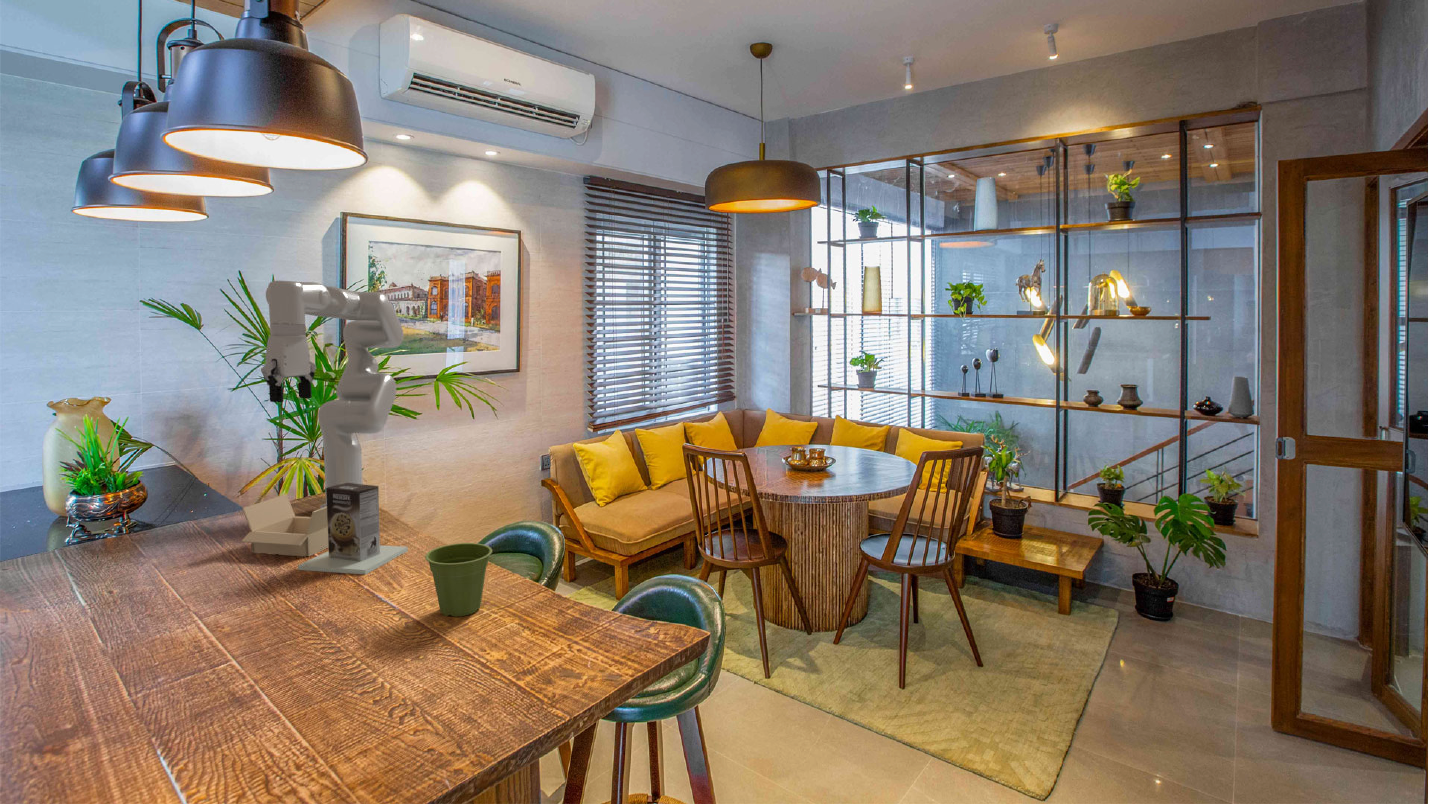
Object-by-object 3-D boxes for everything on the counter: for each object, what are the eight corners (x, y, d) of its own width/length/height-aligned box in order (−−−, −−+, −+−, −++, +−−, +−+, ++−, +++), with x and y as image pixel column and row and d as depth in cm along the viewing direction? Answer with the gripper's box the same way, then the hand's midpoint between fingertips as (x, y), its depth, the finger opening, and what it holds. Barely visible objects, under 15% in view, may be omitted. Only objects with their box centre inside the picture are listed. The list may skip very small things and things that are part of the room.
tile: (345, 547, 167) (345, 543, 167) (407, 551, 165) (407, 546, 165) (297, 569, 152) (297, 565, 151) (365, 574, 149) (365, 570, 149)
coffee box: (327, 557, 157) (324, 487, 155) (349, 549, 163) (346, 481, 161) (360, 562, 154) (357, 491, 152) (381, 553, 160) (379, 484, 159)
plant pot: (413, 613, 130) (411, 555, 129) (465, 593, 140) (464, 539, 139) (455, 628, 124) (453, 567, 123) (506, 606, 134) (505, 549, 133)
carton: (295, 532, 178) (293, 491, 177) (361, 536, 176) (359, 494, 175) (235, 556, 160) (232, 510, 158) (307, 561, 157) (305, 514, 156)
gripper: (299, 331, 181) (302, 396, 183) (246, 331, 164) (250, 403, 166) (325, 331, 180) (328, 397, 182) (275, 331, 163) (279, 404, 165)
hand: (291, 399), depth 174 cm, fingers open, 9 cm apart
